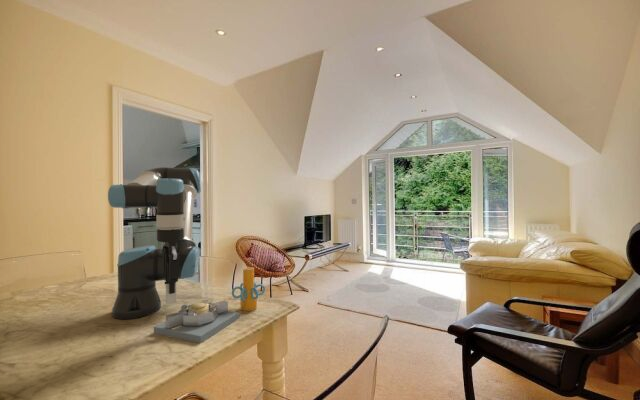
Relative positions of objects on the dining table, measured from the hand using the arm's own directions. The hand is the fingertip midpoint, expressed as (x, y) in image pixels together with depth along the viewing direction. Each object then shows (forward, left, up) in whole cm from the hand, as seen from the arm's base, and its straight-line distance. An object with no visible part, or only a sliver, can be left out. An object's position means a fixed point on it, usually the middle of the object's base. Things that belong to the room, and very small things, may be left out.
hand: (171, 302), depth 91 cm
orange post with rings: (+13, +23, -9) cm, 28 cm away
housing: (+6, +5, -9) cm, 12 cm away
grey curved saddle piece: (+6, +5, -6) cm, 10 cm away
